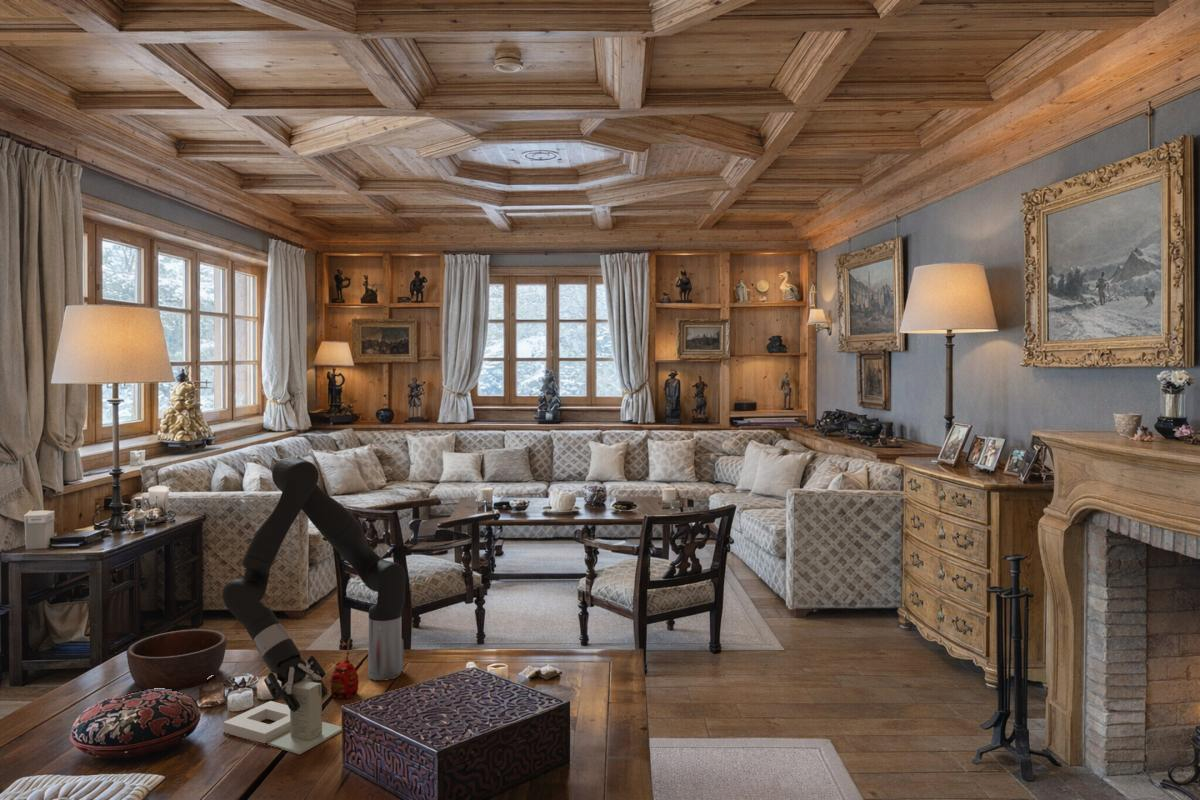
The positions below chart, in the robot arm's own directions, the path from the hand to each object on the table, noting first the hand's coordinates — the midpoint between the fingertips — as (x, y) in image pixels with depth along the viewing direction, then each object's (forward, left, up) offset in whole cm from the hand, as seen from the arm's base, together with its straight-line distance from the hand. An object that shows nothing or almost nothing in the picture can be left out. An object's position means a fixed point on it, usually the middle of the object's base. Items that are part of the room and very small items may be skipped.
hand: (311, 702), depth 183 cm
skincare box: (0, -1, -8) cm, 8 cm away
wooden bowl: (-11, -62, -9) cm, 64 cm away
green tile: (0, -1, -9) cm, 9 cm away
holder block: (0, -14, -9) cm, 17 cm away
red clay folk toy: (-23, -11, -9) cm, 27 cm away
